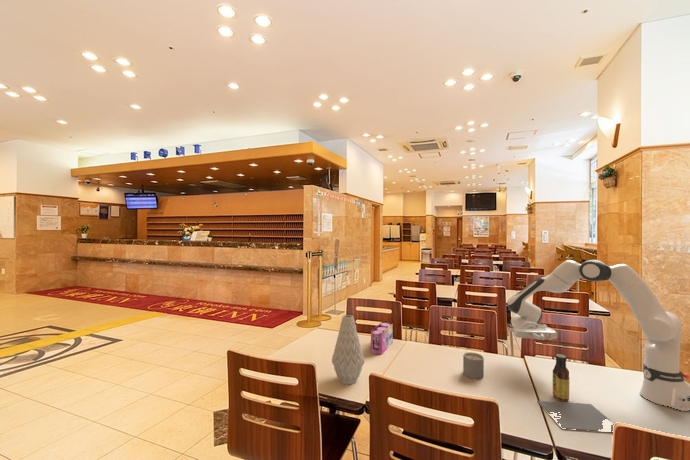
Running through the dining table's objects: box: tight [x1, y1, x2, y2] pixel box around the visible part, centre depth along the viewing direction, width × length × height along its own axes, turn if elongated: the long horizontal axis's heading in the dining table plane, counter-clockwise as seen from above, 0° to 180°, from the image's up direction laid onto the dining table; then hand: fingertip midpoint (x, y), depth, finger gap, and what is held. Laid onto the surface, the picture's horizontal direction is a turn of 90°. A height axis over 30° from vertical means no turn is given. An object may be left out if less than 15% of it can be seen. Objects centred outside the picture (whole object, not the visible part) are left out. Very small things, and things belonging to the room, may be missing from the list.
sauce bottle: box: [552, 353, 570, 403], centre depth 140 cm, size 7×6×20 cm
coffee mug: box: [462, 351, 485, 380], centre depth 165 cm, size 13×10×10 cm
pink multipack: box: [370, 321, 394, 355], centre depth 201 cm, size 24×8×14 cm, turn 154°
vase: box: [331, 314, 365, 385], centre depth 158 cm, size 17×17×33 cm
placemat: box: [536, 400, 615, 432], centre depth 127 cm, size 22×19×1 cm
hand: (541, 338), depth 157 cm, fingers closed
